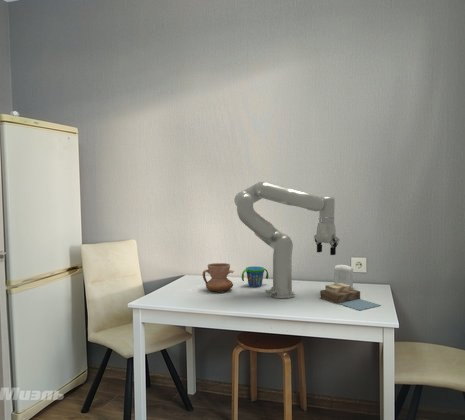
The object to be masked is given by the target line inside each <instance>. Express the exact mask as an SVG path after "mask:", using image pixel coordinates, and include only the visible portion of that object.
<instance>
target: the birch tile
mask: <svg viewBox="0 0 465 420" xmlns="http://www.w3.org/2000/svg"><path fill="white" fill-rule="evenodd" d="M324 290H326V291H329V292H333V293H340V292H345V291H350V285H346V284H342V283H337V284H334V283H331V284H326V285H325V288H324Z"/></svg>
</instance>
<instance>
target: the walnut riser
mask: <svg viewBox="0 0 465 420" xmlns="http://www.w3.org/2000/svg"><path fill="white" fill-rule="evenodd" d="M319 293H320V294H319V295H320V300H323V301H327V302H330V303H333V304H335V305H340V304H339V303H343V302H348V301H352V300H357V299H361V291H359V290H356V289H354V288H352V289H350V291H345V292H340V293H333V292H329V291H326V290H325V289H322V290H320V291H319Z"/></svg>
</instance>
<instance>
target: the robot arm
mask: <svg viewBox="0 0 465 420" xmlns="http://www.w3.org/2000/svg"><path fill="white" fill-rule="evenodd" d="M262 199H263V200H267V201H272V202H276V203H279V204H282V205H286V206H292V207H297V208H302V209H306V210H307V211H311V212H319V213H318V214H319V215H318V216H319V218H318V220H319V222H318V223H317V226H316V234H315V235H313V239H314V242H315V245H316V253H322V252H323V244H322V243H324V244H329V245H330V249H329V251H330V256H335V255H336V253H337V250H336V249H337V248H338V247H337V246H338V245H339V243H340V242H341V241H340V238H338V236H337V231H336V225H335V209H336V208H335V205H336V204H335V203H336V200H335V198H334V197H333V196H318V195H314V194H310V193H307V192H302V191H299V190H296V189H293V188H290V187H286V186H283V185H279V184H277V183H272V182H270V181H259V182H257V183H255V184H253V185H251V186H249V187H247V188H245V189H244V190H243V189H242V190H241V191H240V192H238V193H237V194H236V195H235V197H234V204H235V206H236V212H237V217H238V219H239V220H240V221H241V223H242V224H243V225H245V226H246V227H248V229H250V230H251V231H252V232H253V233H254V235H255V236H256V237H257V238H258V239H260V240H261V241H262V242H263V243H265V245H267V246H269V248H272V250H273V254H272V282H273V283H272V286H271V288H269V289H266V290H264V292H265V294H267V295H268V294H269V296H270V297H272V298H276V299H290V298H291V299H292V298H294V297H295V296H296V293H295V292H294V291H293V288H292V287H293V276H292V275H293V274H292V273H293V269H292V267H293V265H292V264H293V263H292V259H293V248H294V242H293V240H292V238H291V237H290V236H289V235H288V234H285V233H282V232H281V231H280V230H278V229H277V228H276V227H275V226H274V225H273V223H272V222H270V221H268V220H267V219H265V218H264V217H263V216H261V215H260V214H259V213H258V212H257V211H256V210H255V208H254V204H255V203H256V202H259V201H260V200H262Z"/></svg>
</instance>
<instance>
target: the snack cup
mask: <svg viewBox="0 0 465 420" xmlns="http://www.w3.org/2000/svg"><path fill="white" fill-rule="evenodd" d="M265 272H266V275H265V279H266V280H268V279H269V271H268V269H266V268H265V267H262V266H255V265H253V266H246V268H245V269H244V270H243V271H242V272H241V281H242V282H245V280H244V279H245V273H246V277H247V283H248V287H250V288H251V287H252V288H257V287H261V286H262V285H263V280H264V274H265Z"/></svg>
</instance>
